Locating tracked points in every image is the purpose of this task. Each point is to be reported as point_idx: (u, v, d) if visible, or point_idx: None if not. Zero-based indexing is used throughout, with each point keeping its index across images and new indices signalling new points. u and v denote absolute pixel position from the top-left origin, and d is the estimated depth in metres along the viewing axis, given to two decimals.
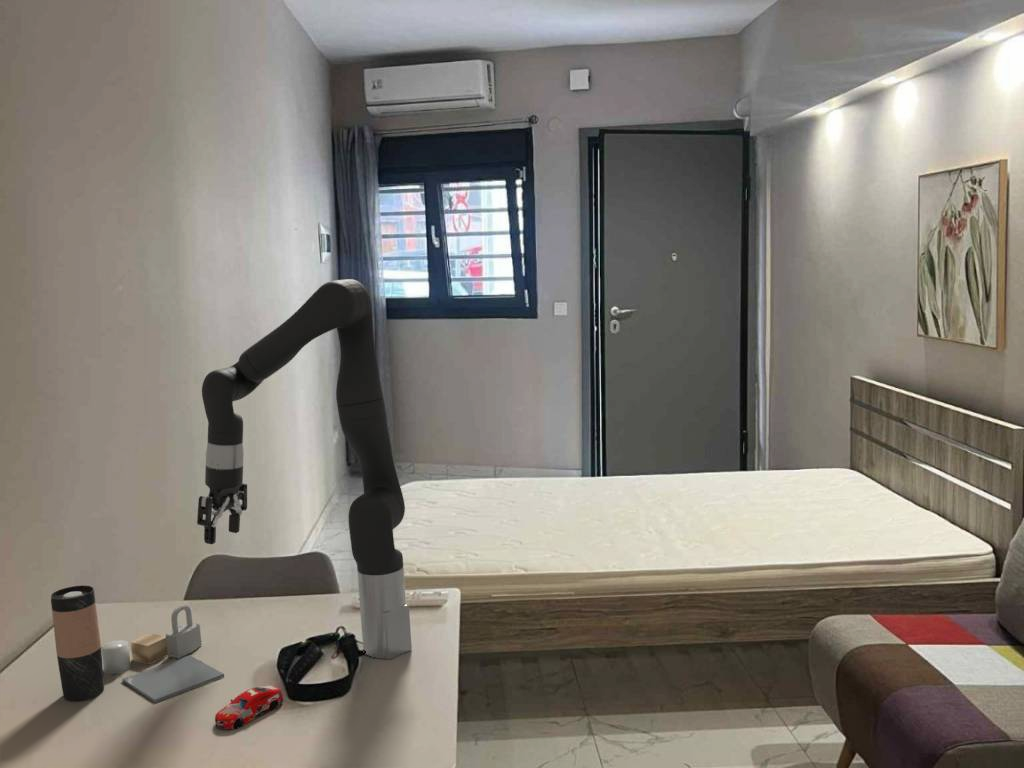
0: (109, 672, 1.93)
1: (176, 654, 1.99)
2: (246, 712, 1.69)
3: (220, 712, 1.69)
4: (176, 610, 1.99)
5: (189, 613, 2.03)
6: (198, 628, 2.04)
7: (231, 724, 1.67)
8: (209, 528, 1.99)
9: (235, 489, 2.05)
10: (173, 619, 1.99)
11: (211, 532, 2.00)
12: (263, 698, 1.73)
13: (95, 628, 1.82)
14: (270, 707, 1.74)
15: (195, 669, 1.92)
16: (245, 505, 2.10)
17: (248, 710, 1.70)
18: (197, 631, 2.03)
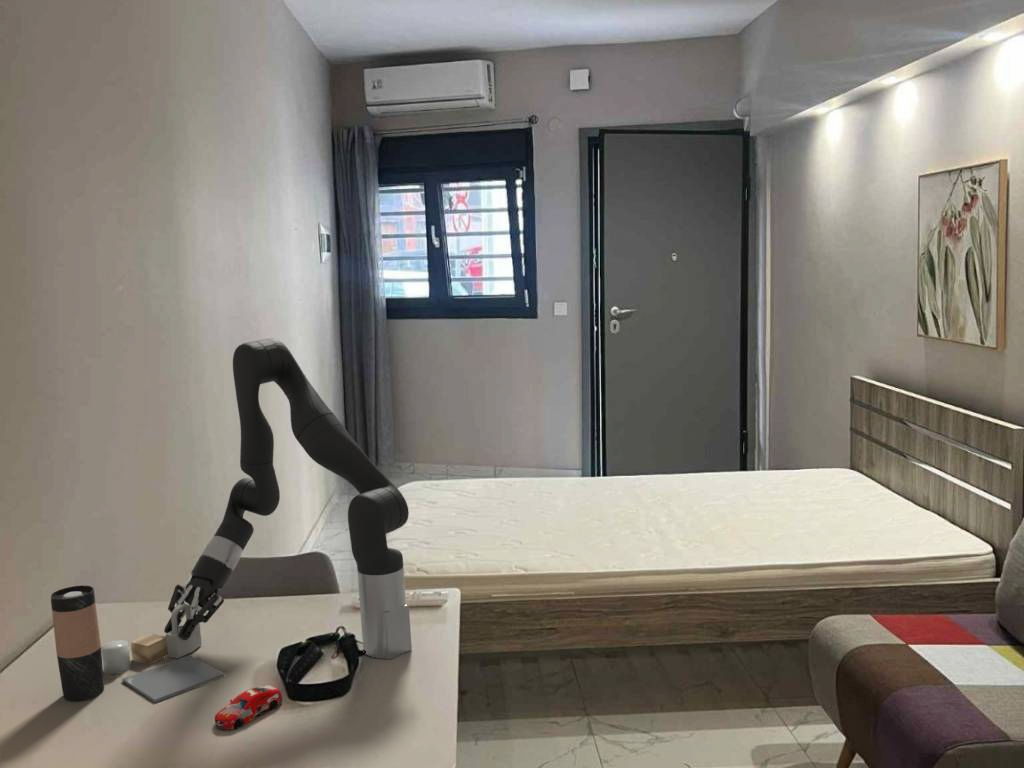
0: (109, 672, 1.93)
1: (176, 654, 1.99)
2: (246, 712, 1.69)
3: (220, 712, 1.69)
4: (176, 610, 1.99)
5: (189, 613, 2.03)
6: (198, 628, 2.04)
7: (231, 724, 1.67)
8: None
9: (208, 587, 2.03)
10: (173, 619, 1.99)
11: (170, 620, 2.02)
12: (262, 698, 1.73)
13: (95, 628, 1.82)
14: (270, 707, 1.74)
15: (195, 669, 1.92)
16: (199, 613, 1.99)
17: (248, 710, 1.70)
18: (197, 631, 2.03)
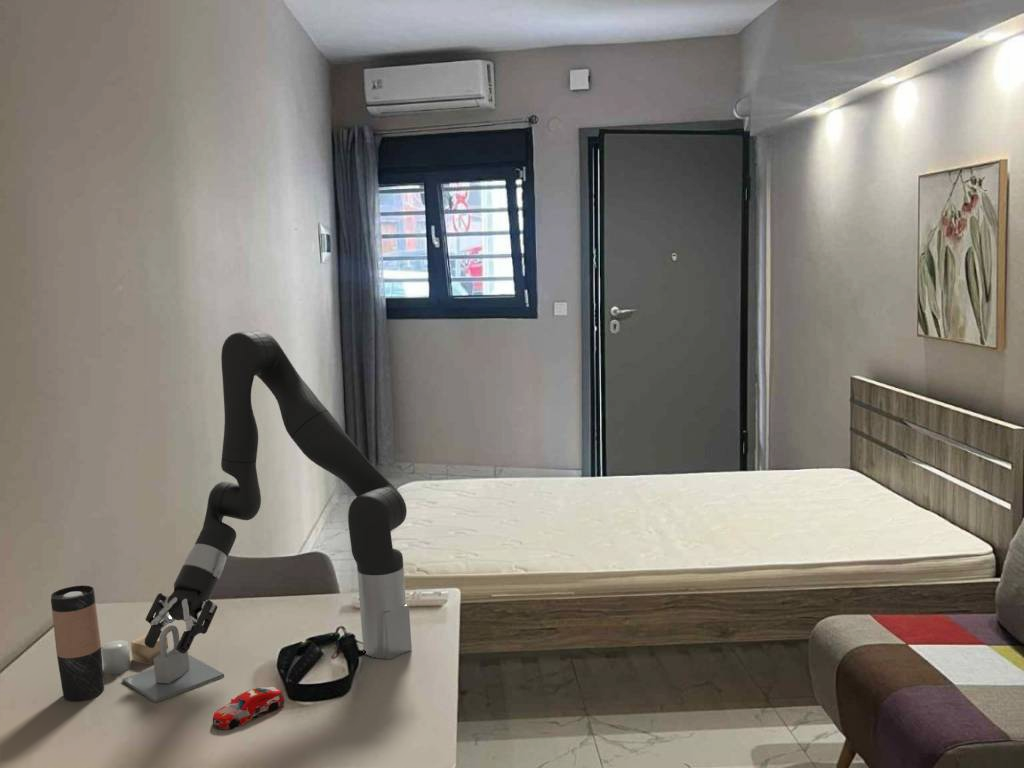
0: (109, 672, 1.93)
1: (166, 679, 1.85)
2: (243, 713, 1.69)
3: (218, 711, 1.70)
4: (164, 632, 1.86)
5: (177, 634, 1.90)
6: None
7: (226, 724, 1.67)
8: None
9: (194, 599, 1.90)
10: (162, 641, 1.85)
11: (150, 631, 1.90)
12: (261, 700, 1.72)
13: (95, 628, 1.82)
14: (269, 709, 1.73)
15: (195, 669, 1.92)
16: (198, 623, 1.86)
17: (245, 711, 1.69)
18: (185, 653, 1.90)
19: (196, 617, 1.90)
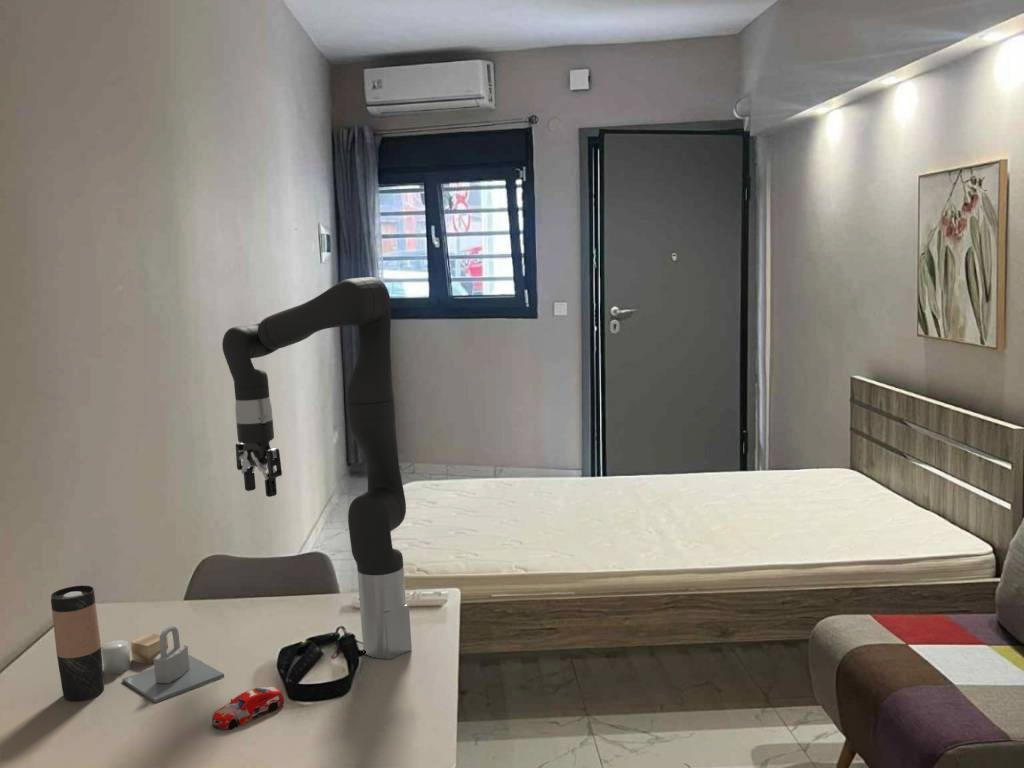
0: (109, 672, 1.93)
1: (166, 679, 1.85)
2: (242, 713, 1.69)
3: (218, 711, 1.70)
4: (164, 632, 1.86)
5: (177, 634, 1.90)
6: (186, 650, 1.91)
7: (226, 724, 1.67)
8: None
9: (258, 449, 2.05)
10: (162, 641, 1.85)
11: None
12: (261, 700, 1.72)
13: (95, 628, 1.82)
14: (269, 709, 1.73)
15: (195, 669, 1.92)
16: (269, 472, 2.03)
17: (244, 711, 1.69)
18: (185, 653, 1.90)
19: None
